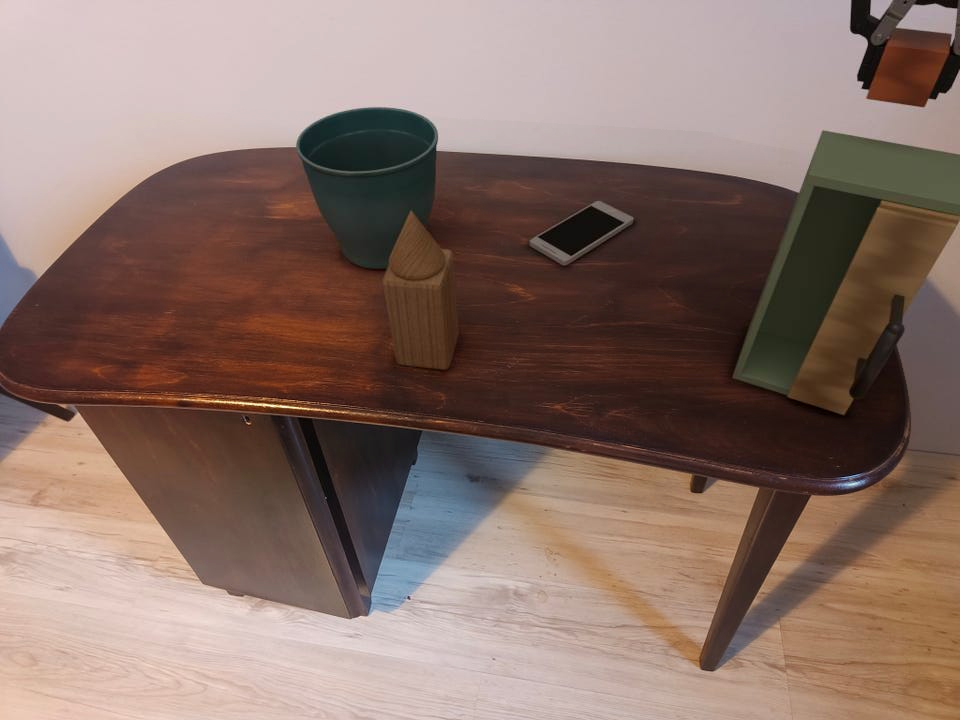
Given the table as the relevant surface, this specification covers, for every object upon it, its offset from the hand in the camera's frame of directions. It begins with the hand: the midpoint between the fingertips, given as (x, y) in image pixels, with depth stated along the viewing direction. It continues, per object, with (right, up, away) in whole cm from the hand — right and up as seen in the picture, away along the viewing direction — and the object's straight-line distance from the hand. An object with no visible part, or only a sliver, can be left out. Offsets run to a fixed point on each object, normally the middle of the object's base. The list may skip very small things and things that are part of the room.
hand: (899, 90), depth 55 cm
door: (-1, -30, +12) cm, 32 cm away
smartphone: (-21, -5, +39) cm, 45 cm away
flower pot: (-51, -7, +38) cm, 64 cm away
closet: (0, -25, +19) cm, 31 cm away
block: (0, 0, 0) cm, 0 cm away
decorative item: (-43, -23, +23) cm, 53 cm away
